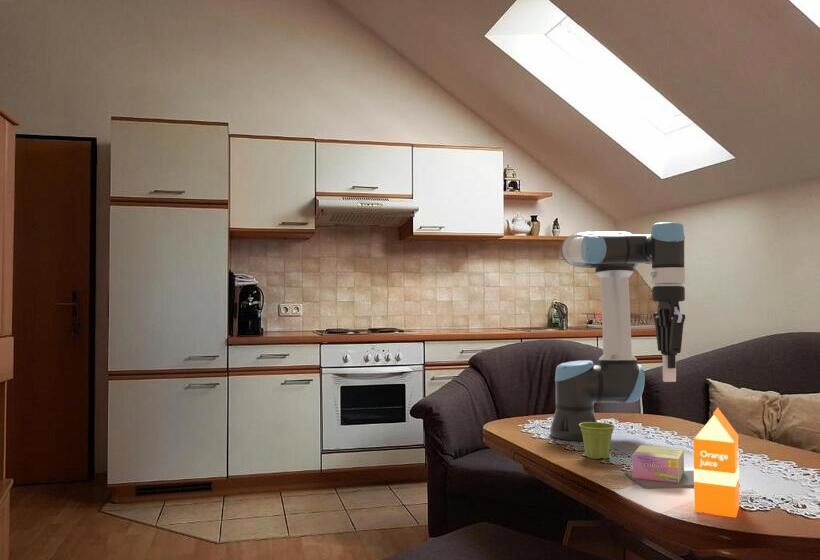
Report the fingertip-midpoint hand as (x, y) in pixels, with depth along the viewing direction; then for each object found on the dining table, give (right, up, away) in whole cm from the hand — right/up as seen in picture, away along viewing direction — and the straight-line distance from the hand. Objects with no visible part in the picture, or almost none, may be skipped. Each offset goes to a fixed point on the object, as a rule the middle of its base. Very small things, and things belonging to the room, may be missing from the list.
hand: (669, 381), depth 162 cm
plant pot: (-13, -24, +18) cm, 32 cm away
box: (-1, -19, +2) cm, 20 cm away
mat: (0, -23, -6) cm, 23 cm away
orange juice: (-1, -22, -27) cm, 35 cm away
